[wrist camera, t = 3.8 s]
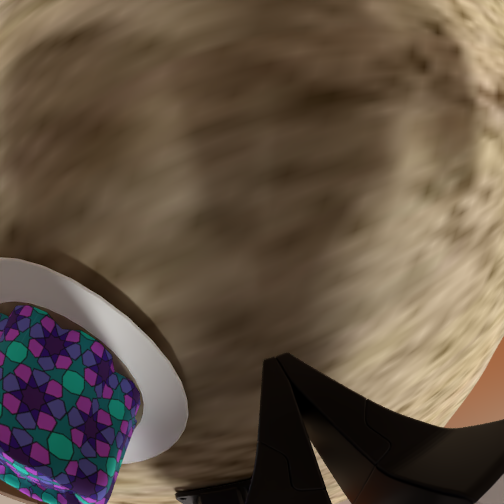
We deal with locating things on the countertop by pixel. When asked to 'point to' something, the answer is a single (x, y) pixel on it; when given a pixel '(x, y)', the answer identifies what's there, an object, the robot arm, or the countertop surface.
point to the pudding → (77, 390)
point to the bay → (17, 494)
